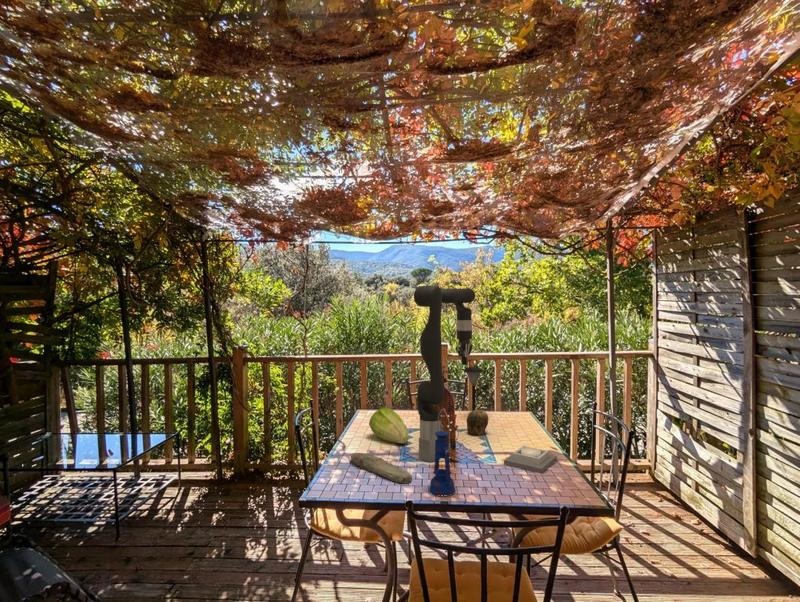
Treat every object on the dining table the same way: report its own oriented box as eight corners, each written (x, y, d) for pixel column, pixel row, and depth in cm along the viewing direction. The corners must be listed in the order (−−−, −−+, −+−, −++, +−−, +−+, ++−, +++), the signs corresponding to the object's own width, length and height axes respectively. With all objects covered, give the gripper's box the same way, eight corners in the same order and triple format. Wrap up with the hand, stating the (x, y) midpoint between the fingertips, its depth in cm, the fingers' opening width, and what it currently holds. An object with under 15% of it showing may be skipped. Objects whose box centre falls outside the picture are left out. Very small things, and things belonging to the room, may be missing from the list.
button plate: (541, 473, 181) (541, 462, 181) (504, 464, 191) (504, 454, 190) (557, 460, 195) (556, 450, 195) (521, 452, 205) (521, 442, 205)
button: (536, 462, 187) (536, 455, 187) (518, 458, 192) (518, 451, 192) (543, 456, 193) (543, 449, 193) (525, 452, 198) (525, 445, 198)
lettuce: (416, 451, 221) (388, 461, 213) (390, 423, 240) (364, 431, 232) (418, 426, 216) (390, 436, 208) (392, 399, 235) (365, 407, 227)
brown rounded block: (488, 437, 227) (488, 413, 226) (466, 436, 228) (466, 412, 228) (488, 431, 237) (487, 408, 237) (466, 430, 239) (466, 407, 239)
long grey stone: (399, 491, 169) (417, 485, 176) (400, 477, 169) (418, 471, 176) (343, 461, 195) (361, 456, 202) (344, 449, 195) (362, 445, 201)
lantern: (424, 487, 169) (424, 406, 168) (447, 483, 172) (446, 404, 172) (436, 499, 159) (436, 413, 159) (460, 495, 162) (460, 411, 162)
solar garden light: (481, 417, 263) (481, 365, 263) (487, 423, 251) (487, 369, 250) (460, 418, 262) (460, 366, 262) (465, 424, 250) (465, 369, 250)
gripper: (464, 330, 214) (464, 367, 214) (477, 328, 225) (477, 363, 225) (450, 330, 219) (450, 365, 219) (464, 328, 229) (464, 362, 229)
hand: (464, 364), depth 222 cm, fingers closed
